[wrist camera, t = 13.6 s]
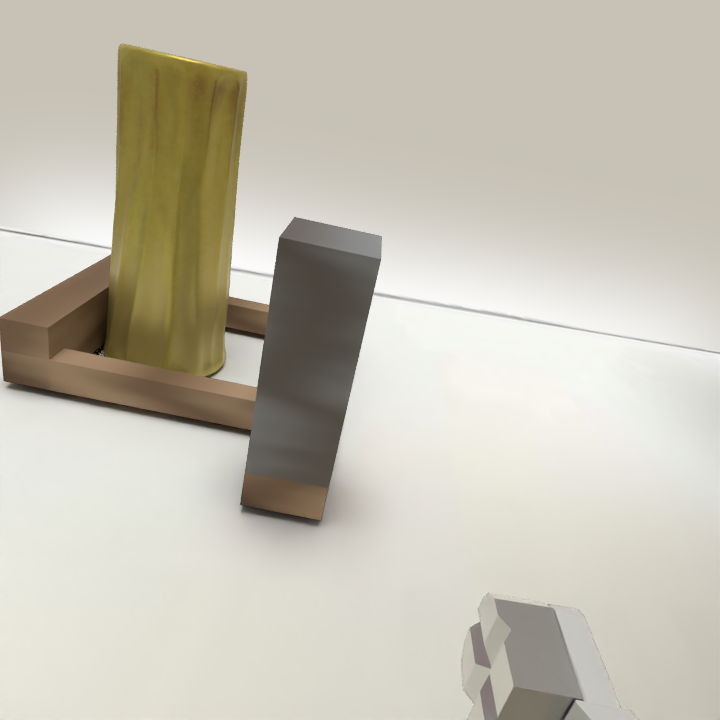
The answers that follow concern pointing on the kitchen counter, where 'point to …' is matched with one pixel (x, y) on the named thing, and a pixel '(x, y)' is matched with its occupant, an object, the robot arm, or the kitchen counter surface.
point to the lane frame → (222, 398)
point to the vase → (173, 210)
